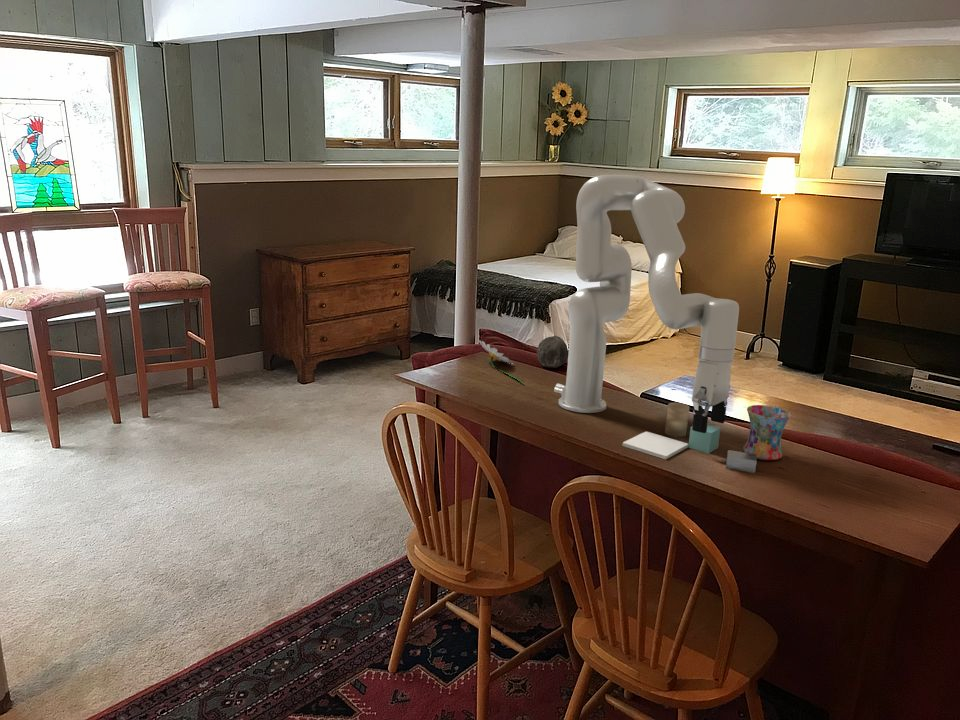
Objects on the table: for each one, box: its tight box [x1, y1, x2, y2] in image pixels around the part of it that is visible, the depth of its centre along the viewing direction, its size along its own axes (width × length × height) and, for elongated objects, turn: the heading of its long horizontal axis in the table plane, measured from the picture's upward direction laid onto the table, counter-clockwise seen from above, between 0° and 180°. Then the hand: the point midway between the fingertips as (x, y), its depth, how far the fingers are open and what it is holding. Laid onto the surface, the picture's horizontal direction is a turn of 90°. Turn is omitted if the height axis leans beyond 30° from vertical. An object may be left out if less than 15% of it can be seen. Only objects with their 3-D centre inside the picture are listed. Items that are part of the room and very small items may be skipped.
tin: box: [725, 449, 758, 474], centre depth 165 cm, size 6×4×3 cm, turn 71°
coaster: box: [621, 431, 689, 460], centre depth 175 cm, size 11×11×1 cm
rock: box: [536, 335, 569, 369], centre depth 238 cm, size 10×11×10 cm
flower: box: [478, 340, 525, 384], centre depth 230 cm, size 13×5×30 cm
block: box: [687, 423, 721, 454], centre depth 175 cm, size 5×5×5 cm
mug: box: [742, 404, 792, 461], centre depth 172 cm, size 12×9×11 cm
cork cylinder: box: [664, 402, 690, 438], centre depth 184 cm, size 5×5×7 cm
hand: (708, 426), depth 174 cm, fingers open, 9 cm apart
